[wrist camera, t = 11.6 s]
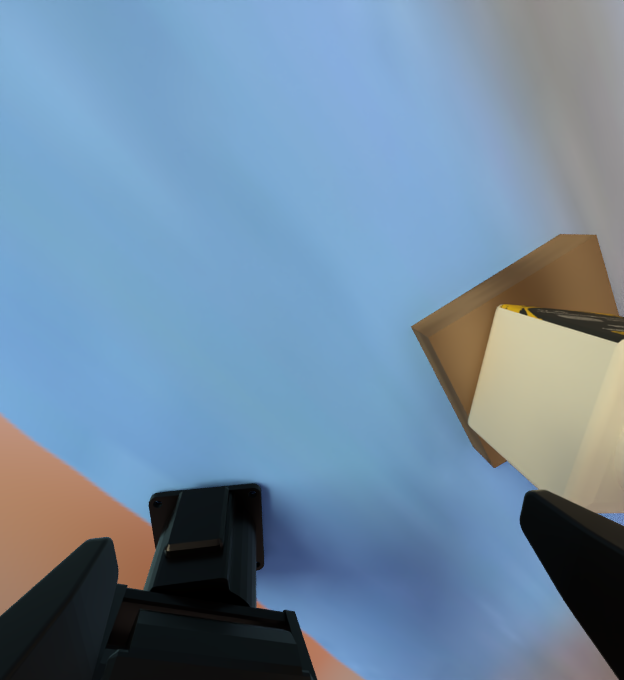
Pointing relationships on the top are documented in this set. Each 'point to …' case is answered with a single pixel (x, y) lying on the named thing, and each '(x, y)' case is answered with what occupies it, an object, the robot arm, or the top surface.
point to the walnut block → (514, 289)
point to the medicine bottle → (556, 401)
